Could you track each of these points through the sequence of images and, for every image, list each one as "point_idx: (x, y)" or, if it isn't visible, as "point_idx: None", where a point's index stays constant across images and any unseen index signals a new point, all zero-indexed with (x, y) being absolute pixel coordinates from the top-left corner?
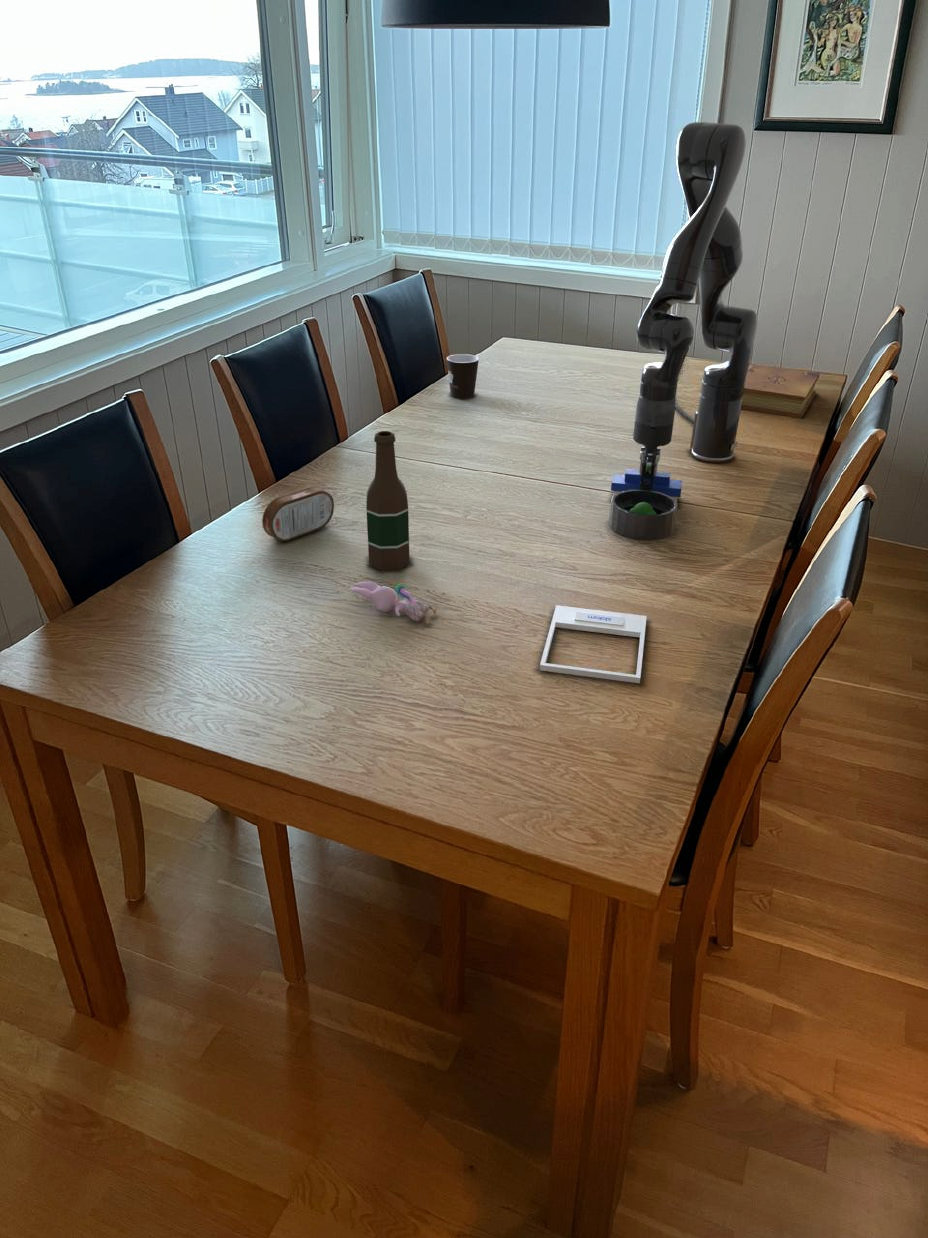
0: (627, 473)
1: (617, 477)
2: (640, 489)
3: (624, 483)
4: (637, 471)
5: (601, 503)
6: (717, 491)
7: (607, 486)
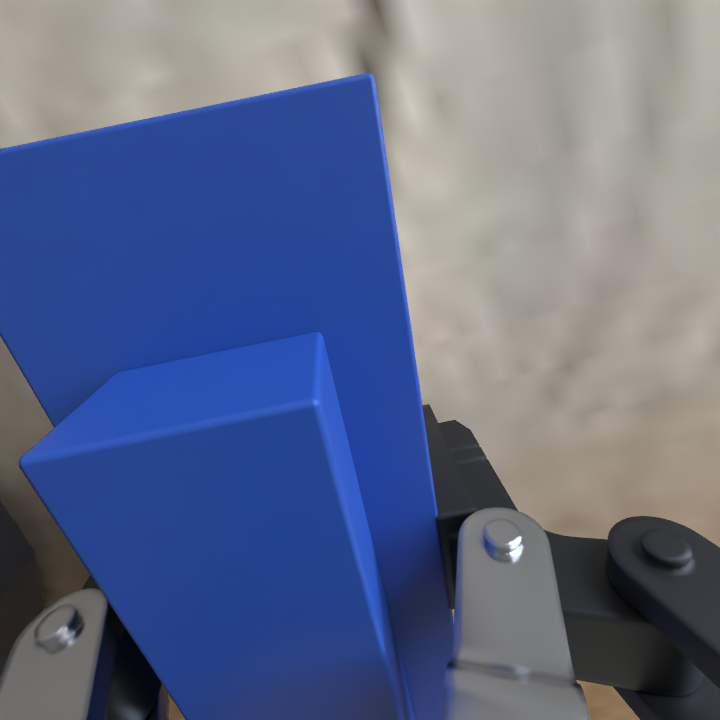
0: (51, 500)
1: (239, 207)
2: None
3: (45, 393)
4: (287, 608)
5: (4, 98)
6: (599, 700)
7: (514, 23)
